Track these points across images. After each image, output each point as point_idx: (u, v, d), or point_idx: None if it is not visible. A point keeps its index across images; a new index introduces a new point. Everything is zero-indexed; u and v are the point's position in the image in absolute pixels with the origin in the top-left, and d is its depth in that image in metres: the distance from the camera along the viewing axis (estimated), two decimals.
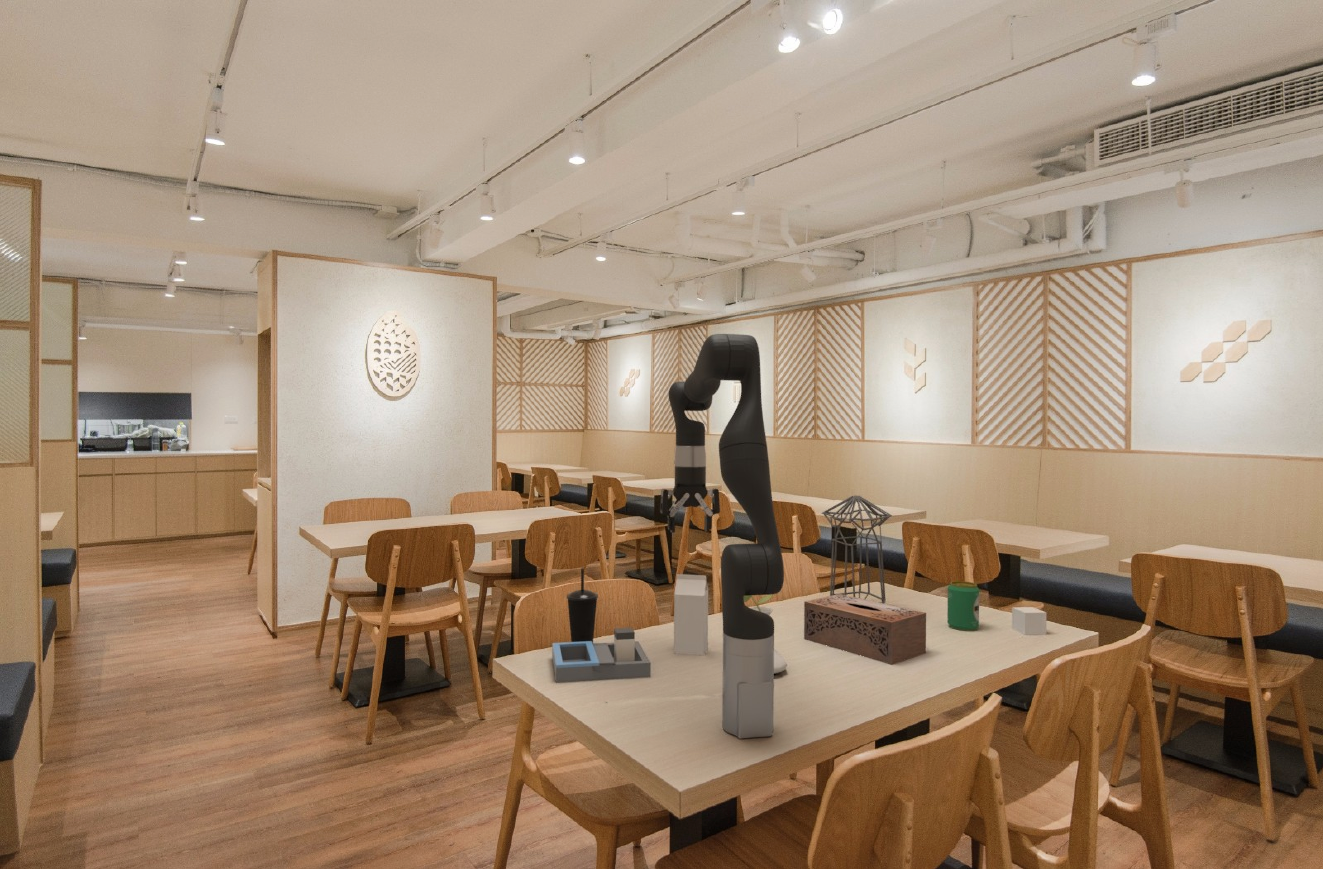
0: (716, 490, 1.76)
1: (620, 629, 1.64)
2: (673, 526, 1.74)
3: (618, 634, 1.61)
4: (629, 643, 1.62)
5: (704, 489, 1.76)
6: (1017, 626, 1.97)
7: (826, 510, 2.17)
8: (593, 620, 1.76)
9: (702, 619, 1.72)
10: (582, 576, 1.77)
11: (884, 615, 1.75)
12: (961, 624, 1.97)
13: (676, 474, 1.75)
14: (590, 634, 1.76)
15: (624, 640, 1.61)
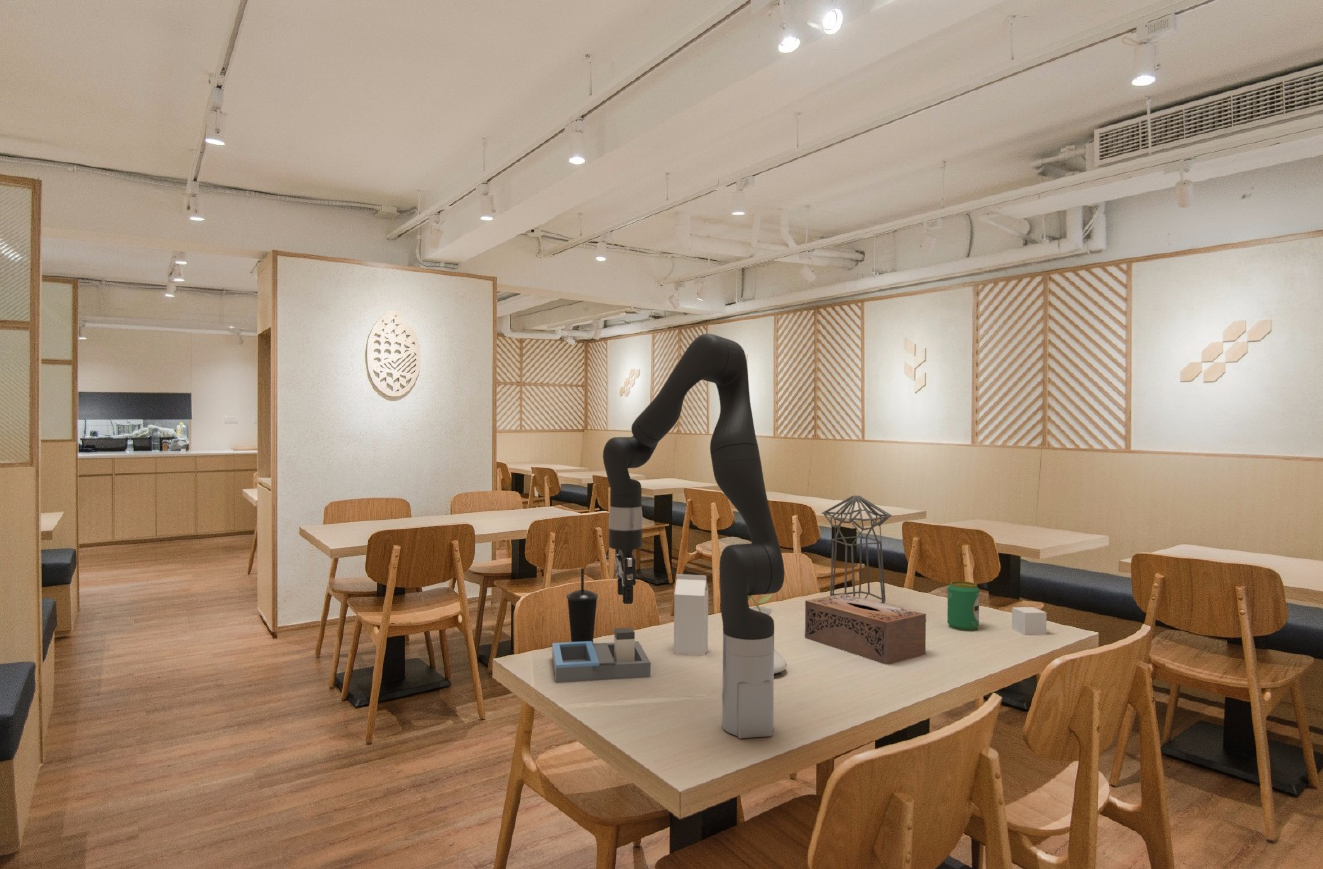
0: None
1: (620, 629, 1.64)
2: (632, 596, 1.59)
3: (618, 634, 1.61)
4: (629, 643, 1.62)
5: None
6: (1017, 626, 1.97)
7: (826, 510, 2.17)
8: (593, 620, 1.76)
9: (702, 619, 1.72)
10: (582, 576, 1.77)
11: (882, 615, 1.75)
12: (961, 624, 1.97)
13: (631, 539, 1.60)
14: (590, 634, 1.76)
15: (624, 640, 1.61)
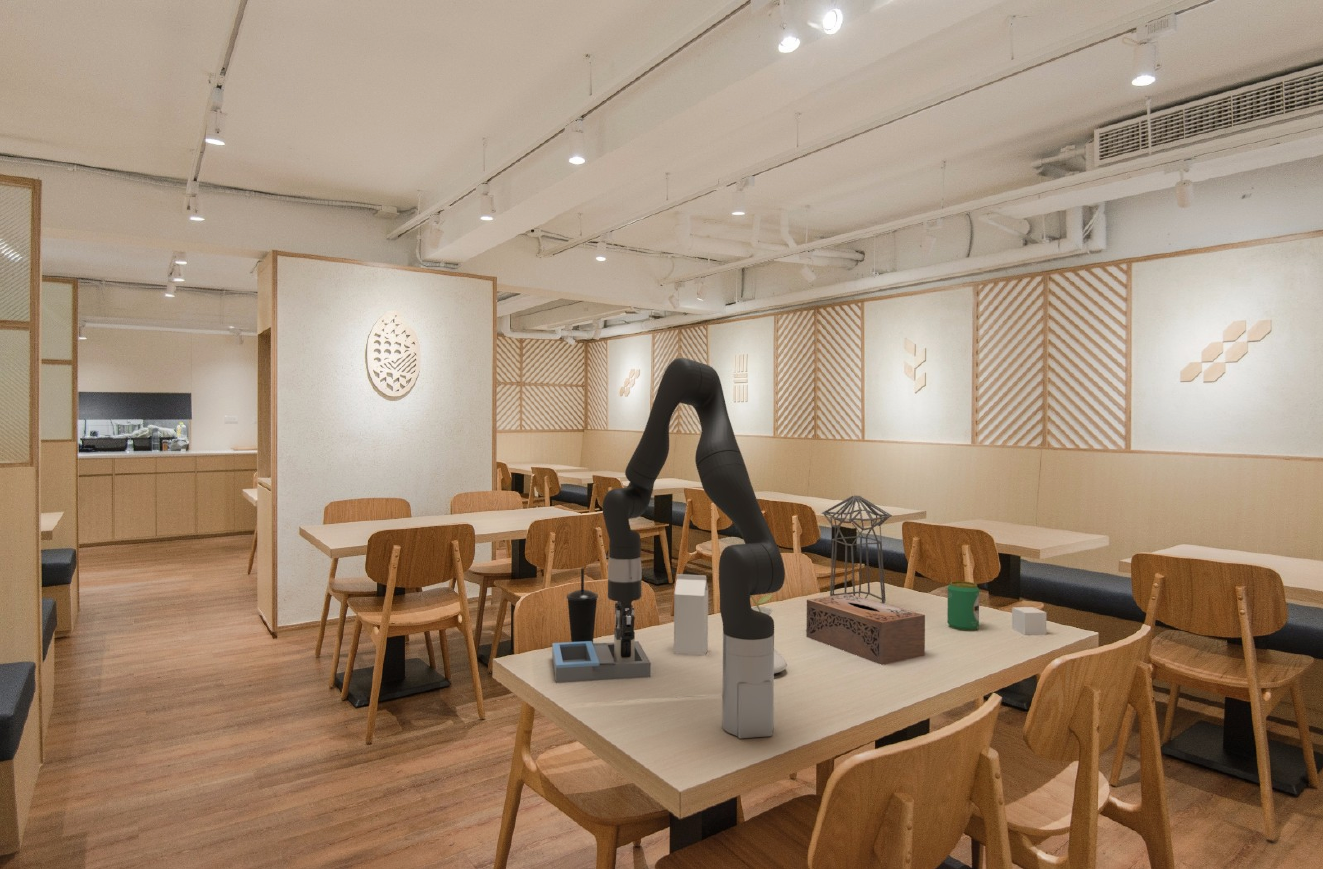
0: None
1: None
2: (630, 649, 1.61)
3: (618, 634, 1.61)
4: None
5: None
6: (1017, 626, 1.97)
7: (826, 510, 2.17)
8: (593, 620, 1.76)
9: (702, 619, 1.72)
10: (582, 576, 1.77)
11: (879, 615, 1.75)
12: (961, 624, 1.97)
13: (630, 591, 1.60)
14: (590, 634, 1.76)
15: None
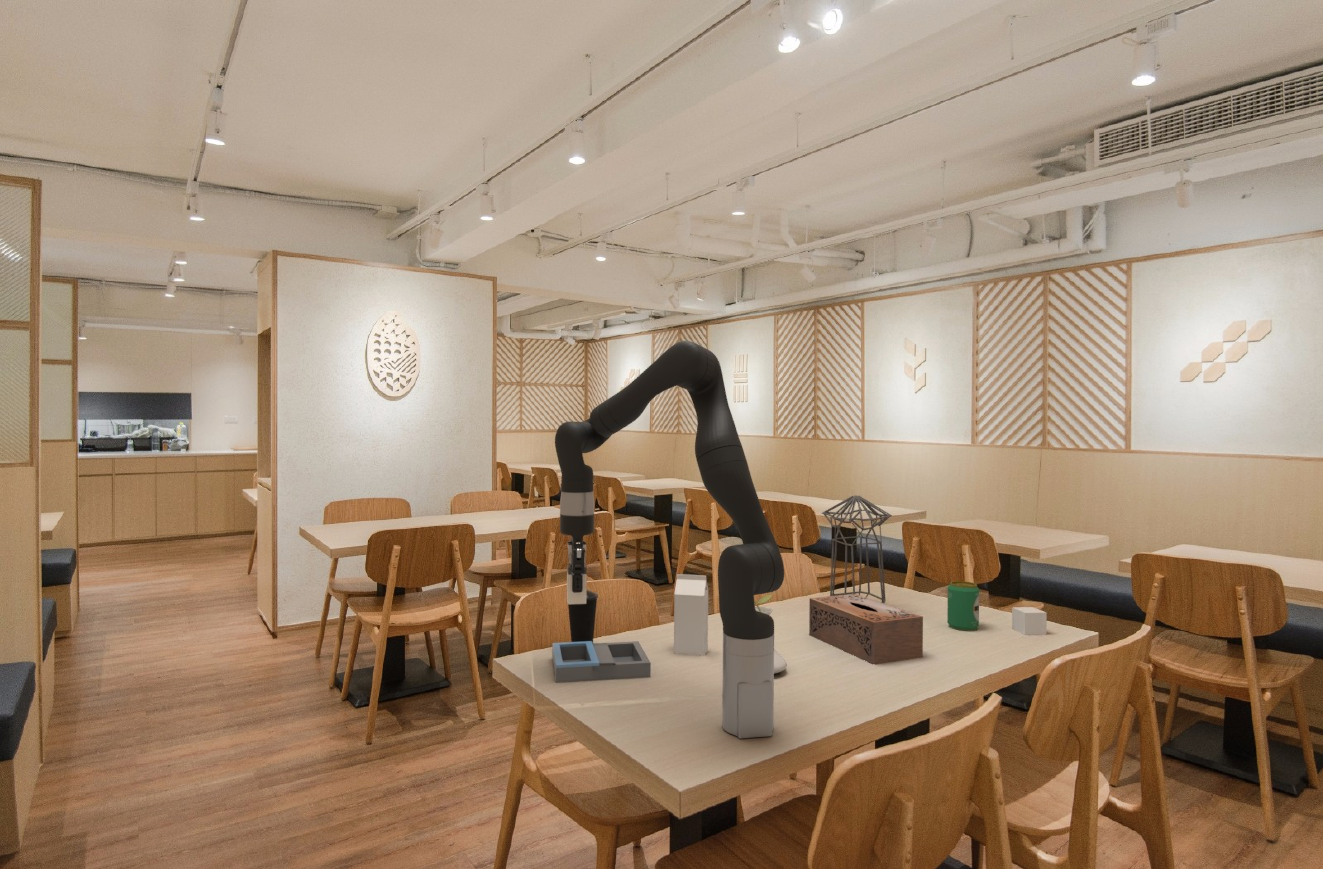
0: None
1: None
2: None
3: (570, 569, 1.59)
4: None
5: None
6: (1017, 626, 1.97)
7: (826, 510, 2.17)
8: (593, 620, 1.76)
9: (702, 619, 1.72)
10: None
11: (874, 616, 1.74)
12: (961, 624, 1.97)
13: (581, 525, 1.58)
14: (590, 634, 1.76)
15: None
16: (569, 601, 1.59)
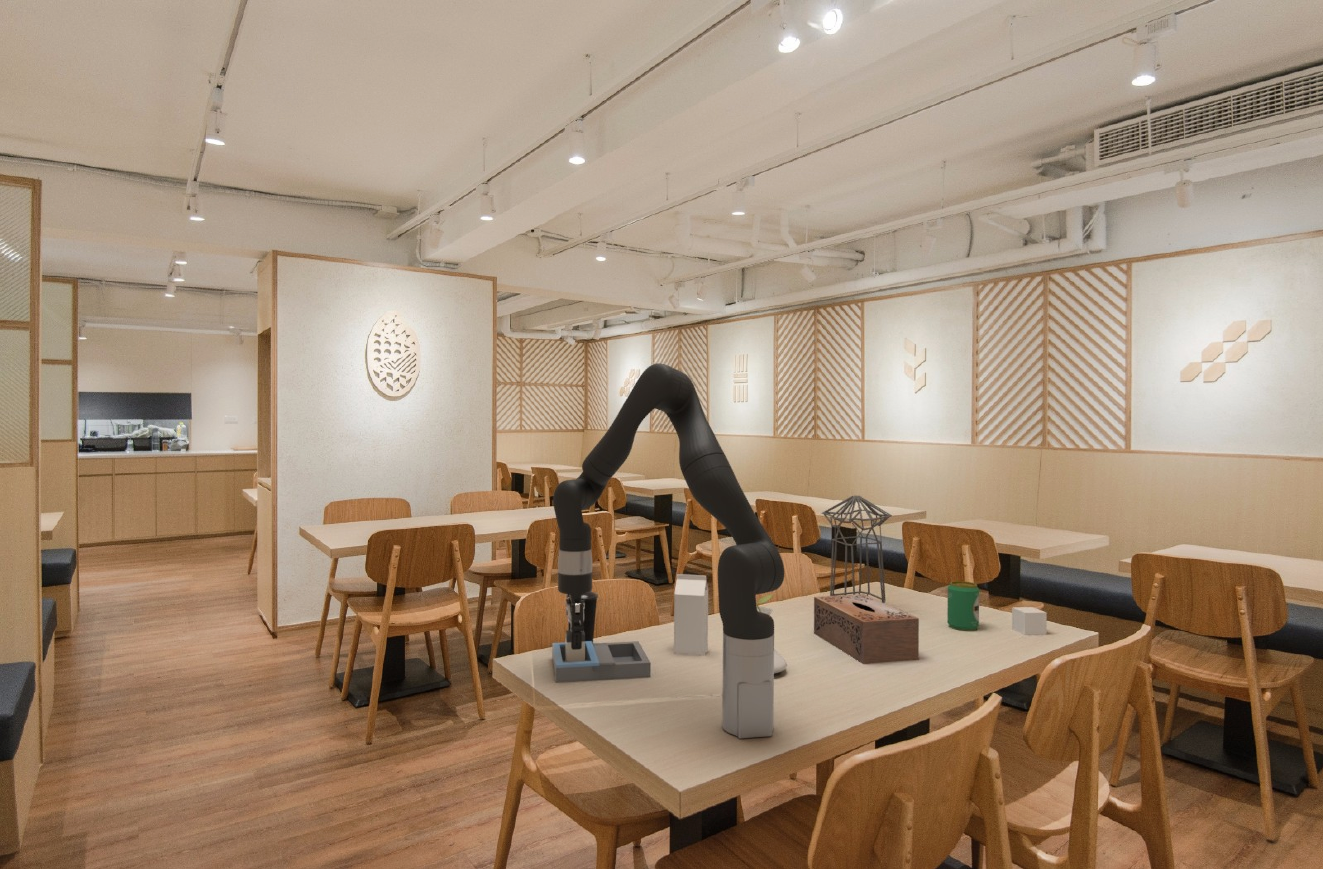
0: None
1: None
2: (581, 641, 1.57)
3: (568, 636, 1.59)
4: None
5: None
6: (1017, 626, 1.97)
7: (826, 510, 2.17)
8: (593, 620, 1.76)
9: (702, 619, 1.72)
10: None
11: (869, 615, 1.74)
12: (961, 624, 1.97)
13: (579, 583, 1.58)
14: (590, 634, 1.76)
15: None
16: None
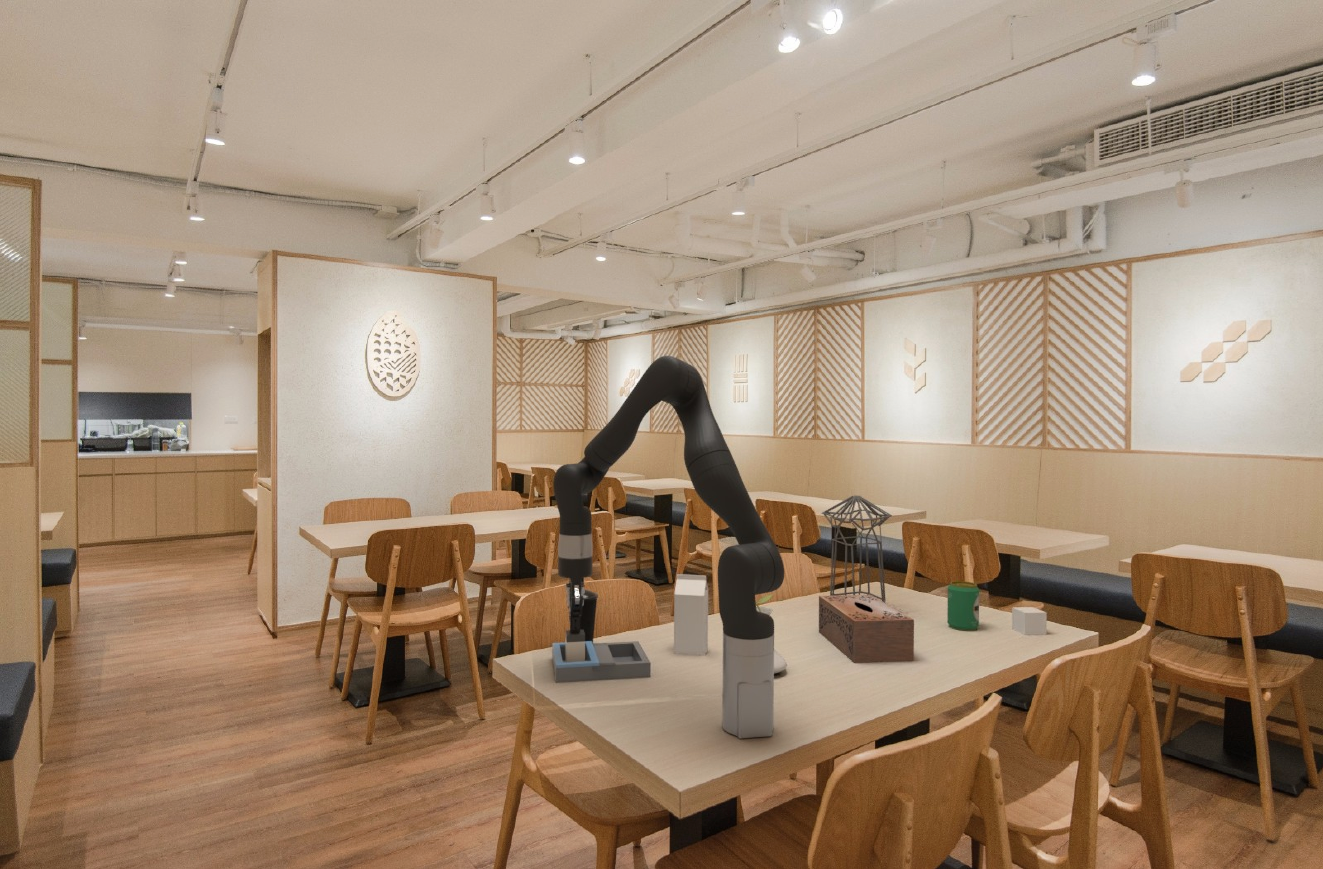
0: None
1: None
2: None
3: (568, 636, 1.59)
4: (580, 646, 1.60)
5: None
6: (1017, 626, 1.97)
7: (826, 510, 2.17)
8: (593, 620, 1.76)
9: (702, 619, 1.72)
10: None
11: (863, 615, 1.75)
12: (961, 624, 1.97)
13: (580, 567, 1.58)
14: (590, 634, 1.76)
15: (574, 643, 1.59)
16: None
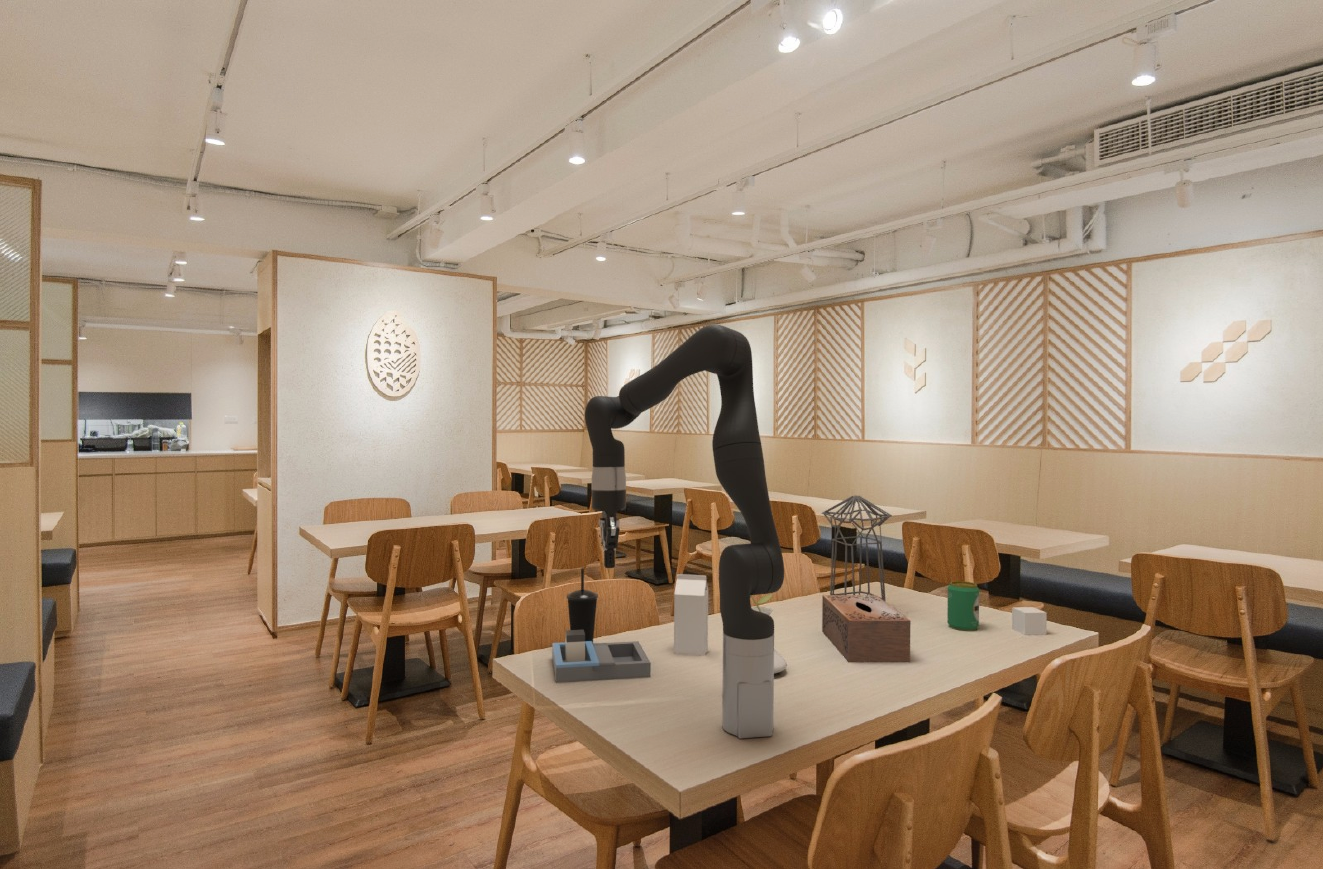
0: None
1: (571, 631, 1.62)
2: (614, 560, 1.59)
3: (568, 636, 1.59)
4: (580, 646, 1.60)
5: None
6: (1017, 626, 1.97)
7: (826, 510, 2.17)
8: (593, 620, 1.76)
9: (702, 619, 1.72)
10: (582, 576, 1.77)
11: (860, 615, 1.75)
12: (961, 624, 1.97)
13: (614, 499, 1.56)
14: (590, 634, 1.76)
15: (574, 643, 1.59)
16: None
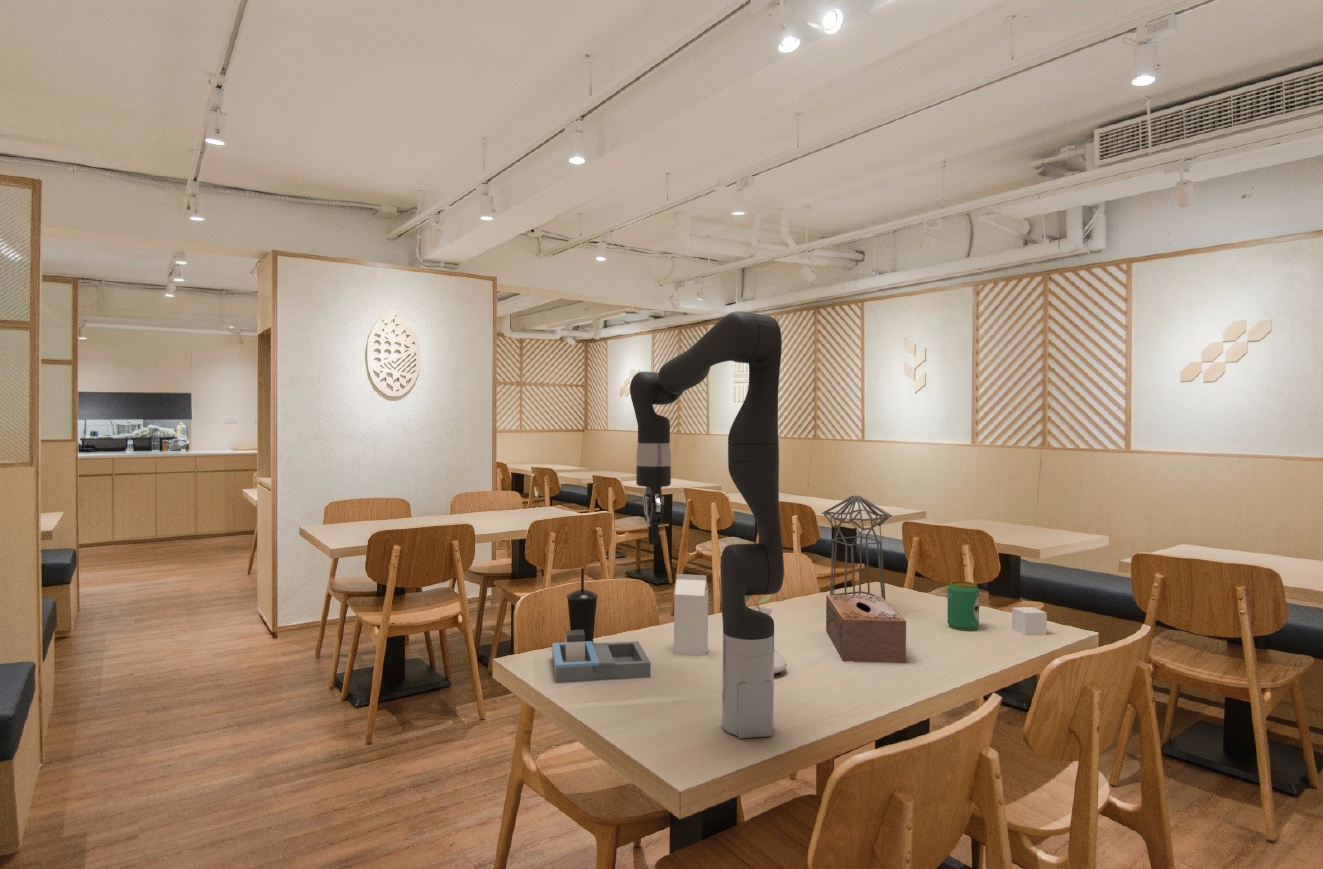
0: None
1: (571, 631, 1.62)
2: None
3: (568, 636, 1.59)
4: (580, 646, 1.60)
5: None
6: (1017, 626, 1.97)
7: (826, 510, 2.17)
8: (593, 620, 1.76)
9: (702, 619, 1.72)
10: (582, 576, 1.77)
11: (857, 614, 1.75)
12: (961, 624, 1.97)
13: (660, 475, 1.56)
14: (590, 634, 1.76)
15: (574, 643, 1.59)
16: None
